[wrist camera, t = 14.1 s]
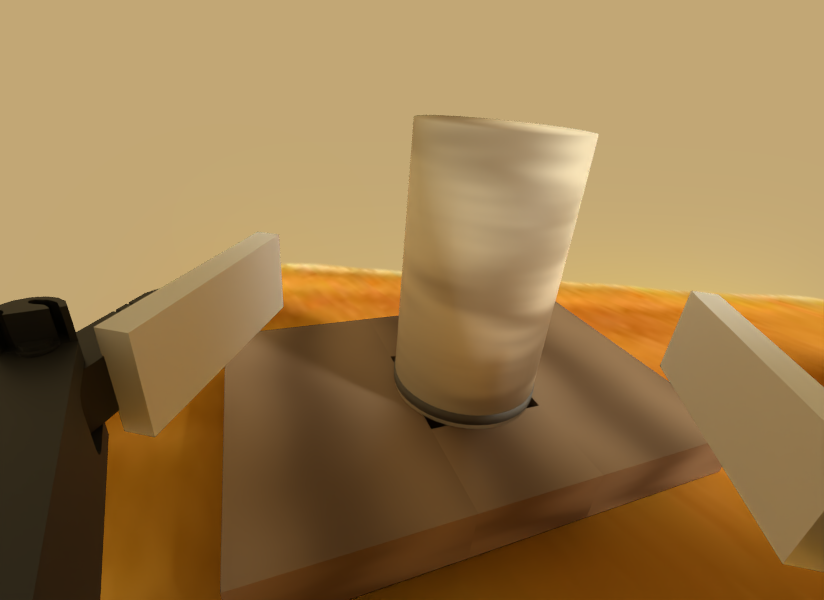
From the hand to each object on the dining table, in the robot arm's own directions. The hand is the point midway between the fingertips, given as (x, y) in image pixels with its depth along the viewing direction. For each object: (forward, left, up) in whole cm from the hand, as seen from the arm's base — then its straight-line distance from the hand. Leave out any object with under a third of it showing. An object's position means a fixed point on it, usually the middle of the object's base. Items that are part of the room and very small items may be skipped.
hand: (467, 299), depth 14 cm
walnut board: (-3, -4, -9) cm, 11 cm away
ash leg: (-3, -4, -9) cm, 10 cm away
